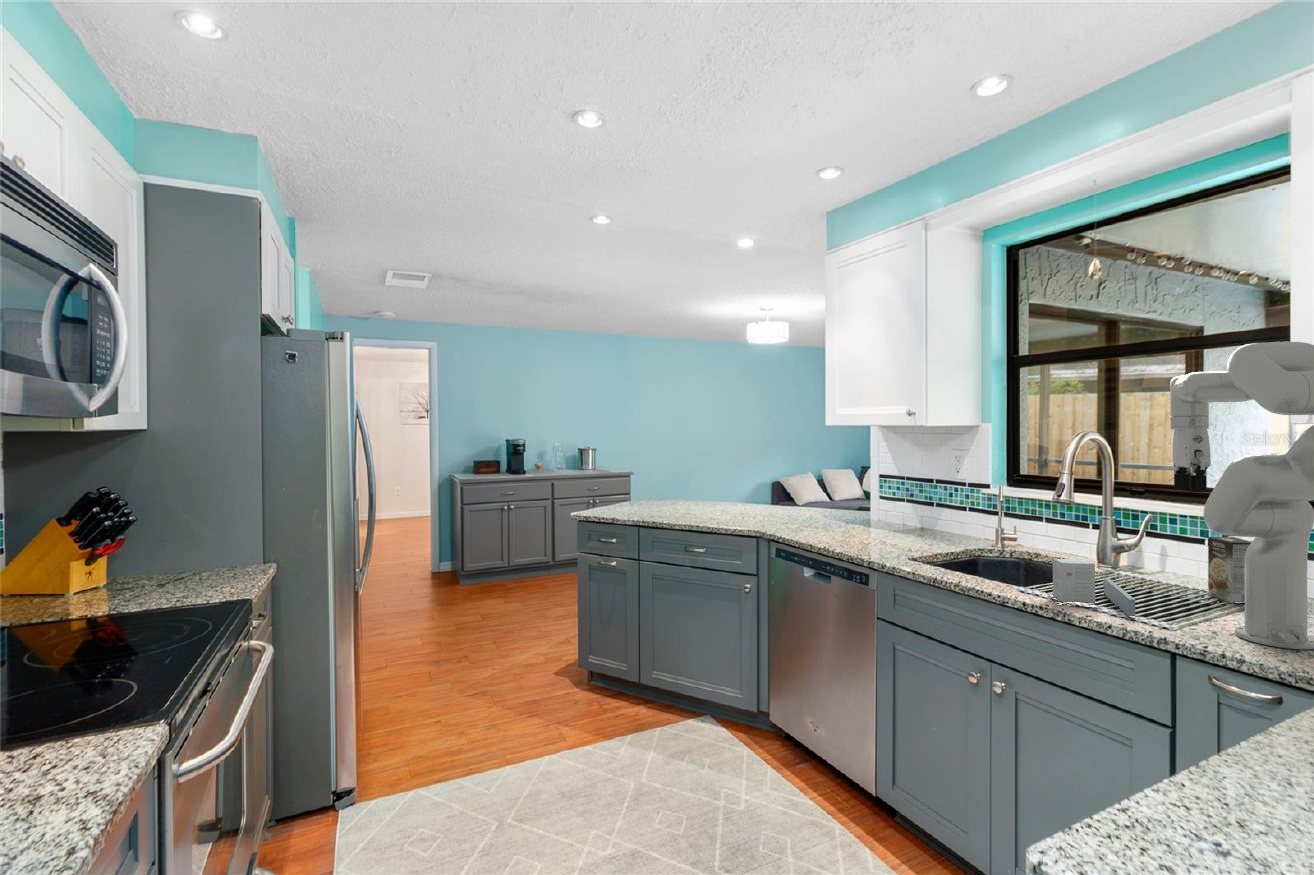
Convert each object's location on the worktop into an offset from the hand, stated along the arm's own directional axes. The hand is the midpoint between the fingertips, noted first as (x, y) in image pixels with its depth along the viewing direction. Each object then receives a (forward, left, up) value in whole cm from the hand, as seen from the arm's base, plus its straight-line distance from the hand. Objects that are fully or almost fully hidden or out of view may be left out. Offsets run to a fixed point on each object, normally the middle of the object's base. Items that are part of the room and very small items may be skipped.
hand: (1189, 490), depth 160 cm
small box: (-7, +27, -30) cm, 41 cm away
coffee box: (+11, -12, -30) cm, 34 cm away
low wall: (-7, +17, -30) cm, 35 cm away
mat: (-7, +27, -30) cm, 41 cm away
